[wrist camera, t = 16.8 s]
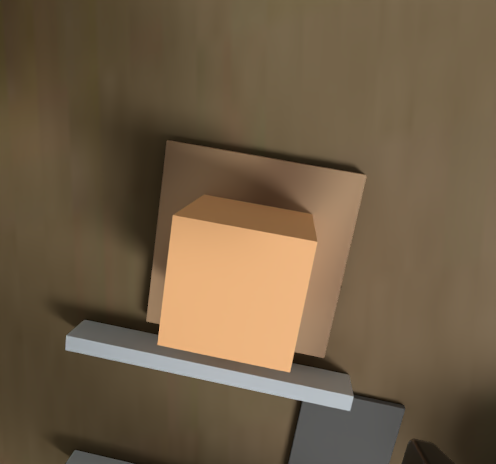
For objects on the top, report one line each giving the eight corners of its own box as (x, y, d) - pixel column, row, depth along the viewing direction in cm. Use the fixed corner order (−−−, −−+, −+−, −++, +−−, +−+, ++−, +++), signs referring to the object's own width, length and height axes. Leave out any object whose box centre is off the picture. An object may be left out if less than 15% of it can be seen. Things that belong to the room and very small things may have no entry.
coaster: (364, 174, 19) (366, 175, 18) (323, 351, 21) (324, 358, 20) (170, 140, 19) (166, 140, 19) (150, 316, 22) (146, 321, 21)
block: (312, 214, 19) (317, 241, 14) (291, 314, 20) (290, 372, 15) (203, 194, 19) (172, 215, 14) (190, 294, 20) (157, 344, 16)
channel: (349, 374, 21) (353, 396, 19) (312, 517, 23) (314, 548, 22) (84, 319, 22) (66, 335, 20) (74, 461, 24) (56, 486, 23)
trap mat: (403, 405, 21) (405, 409, 21) (371, 514, 23) (372, 519, 22) (305, 384, 21) (305, 387, 21) (281, 494, 23) (280, 498, 23)
